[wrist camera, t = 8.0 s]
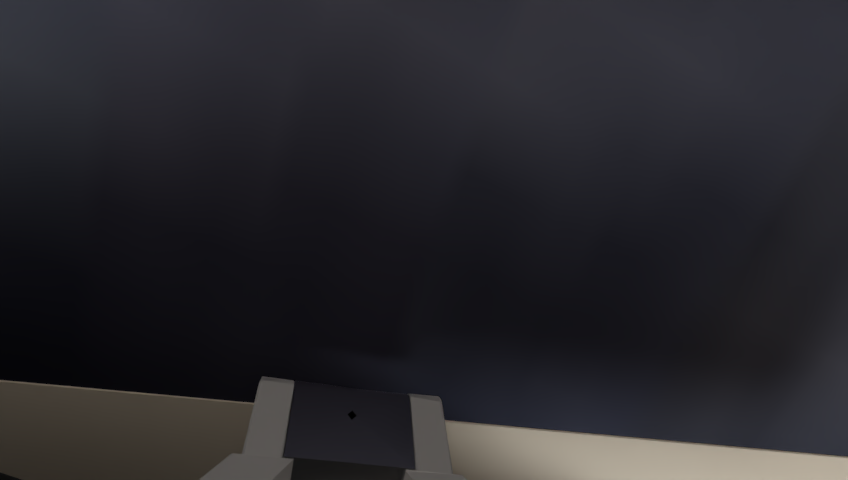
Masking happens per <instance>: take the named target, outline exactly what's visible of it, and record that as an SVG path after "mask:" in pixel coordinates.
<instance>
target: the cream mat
mask: <svg viewBox="0 0 848 480" xmlns="http://www.w3.org/2000/svg"><path fill="white" fill-rule="evenodd" d="M253 406H254V403H250V402H239V401H228V400H217V399H206V398H195V397H184V396H173V395H162V394H151V393H140V392H129V391H118V390H107V389H96V388H84V387H73V386H62V385H51V384H40V383H29V382H18V381H7V380H0V473H3V474H6V475H9V476H12V477H15V478H18V479H21V480H199V479H200V478H201V477H203V476H204V475H205V474H206V473H208V472H209V471H210V470H211V469H213V468H214V467H215V466H216V465H218V464H219V463H220V462H221V461H223V460H224V459H225V458H226V457H228V456H229V455H230V454H231V453H236V454H242V451H243V447H244V443H245V439H246V435H247V430H248V426H249V422H250V418H251V414H252V410H253ZM445 425H446V431H447V438H448V444H449V451H450V457H451V463H452V470H453V474H457V475H463V476H464V477H465V478H466V479H467V480H848V457H847V456H836V455H825V454H813V453H802V452H791V451H780V450H769V449H758V448H747V447H736V446H725V445H714V444H703V443H692V442H681V441H670V440H659V439H648V438H637V437H626V436H615V435H604V434H593V433H582V432H570V431H559V430H548V429H537V428H526V427H515V426H504V425H493V424H482V423H471V422H460V421H449V420H445Z"/></svg>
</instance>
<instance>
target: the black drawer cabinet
mask: <svg viewBox="0 0 848 480" xmlns="http://www.w3.org/2000/svg"><path fill="white" fill-rule="evenodd" d="M0 480H21V479H18V478H15V477H12V476H9V475H6V474H3V473H0Z"/></svg>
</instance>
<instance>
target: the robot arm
mask: <svg viewBox="0 0 848 480" xmlns="http://www.w3.org/2000/svg"><path fill="white" fill-rule="evenodd" d="M294 382H295V387H294ZM293 389H294V393H293ZM292 397H293V399H292ZM291 404H292V405H291ZM199 480H467V479H466V478H465V477H464V476H463V475H457V474H453V470H452V463H451V457H450V451H449V444H448V438H447V431H446V425H445V419H444V412H443V406H442V400H441V399H440V398H439V396H431V395H420V394H409V393H408V395H407V394H401V393H392V392H382V391H373V390H364V389H357V388H349V387H342V386H335V385H327V384H320V383H313V382H305V381H298V380H296V381H293V380H288V379H280V378H272V377H264V376H262V378H261V380H260V382H259V385H258V389H257V393H256V397H255V401H254V406H253V410H252V414H251V418H250V422H249V426H248V430H247V435H246V439H245V443H244V447H243V451H242V454H236V453H231V454H230V455H229V456H228V457H226V458H225V459H224V460H223V461H221V462H220V463H219V464H218V465H216V466H215V467H214V468H213V469H211V470H210V471H209V472H208V473H206V474H205V475H204V476H203V477H201V478H200V479H199Z"/></svg>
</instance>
